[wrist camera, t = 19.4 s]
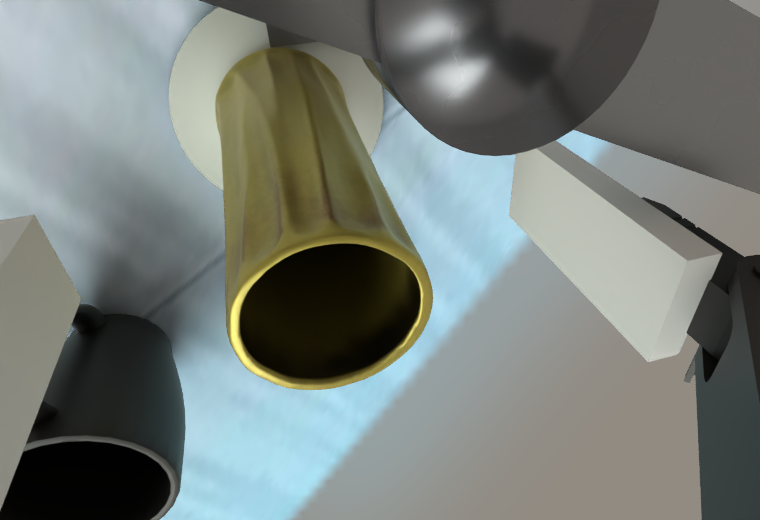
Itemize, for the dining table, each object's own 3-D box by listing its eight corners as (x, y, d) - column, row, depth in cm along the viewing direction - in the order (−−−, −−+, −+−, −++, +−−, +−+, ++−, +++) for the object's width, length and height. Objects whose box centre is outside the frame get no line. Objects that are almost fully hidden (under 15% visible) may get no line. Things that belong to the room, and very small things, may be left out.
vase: (239, 185, 25) (251, 425, 14) (193, 62, 21) (159, 260, 10) (355, 157, 25) (456, 364, 14) (332, 32, 21) (445, 185, 10)
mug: (144, 223, 25) (104, 348, 18) (210, 378, 32) (202, 517, 24) (-28, 255, 24) (-151, 406, 16) (79, 410, 31) (28, 566, 23)
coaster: (138, 5, 20) (135, 7, 19) (371, -19, 22) (376, -18, 21) (204, 215, 26) (203, 222, 25) (385, 184, 27) (389, 190, 27)
